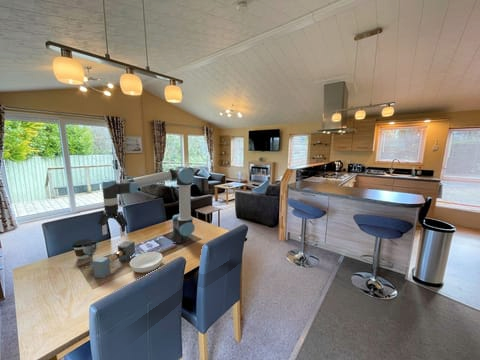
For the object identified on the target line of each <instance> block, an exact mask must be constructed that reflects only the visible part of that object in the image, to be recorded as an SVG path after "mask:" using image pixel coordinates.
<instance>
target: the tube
mask: <svg viewBox="0 0 480 360" xmlns="http://www.w3.org/2000/svg"><path fill="white" fill-rule="evenodd" d="M124 254H125V248H123V249H122V250H120V251H119V252H118V251H117V252H114V253H113V254H112V255H111V256H110V257H108V258H109V262H110V264H112V263H113V262H114V261H115V262H116V260H119V257H121V256H122V255H124Z"/></svg>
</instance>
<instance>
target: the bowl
mask: <svg viewBox="0 0 480 360" xmlns="http://www.w3.org/2000/svg"><path fill="white" fill-rule="evenodd" d="M162 262H163V255H162V253H160V252H158V251H147V252H142V253H140V254H138V255H135V256H134V257H133V258H131V259H130V260H129V267H130V268H131V270H132V271H133V272H136V273H138V274H146V273H150V272H152V271H154V270H156V269H157V268H158V267H160V265H161V264H162Z"/></svg>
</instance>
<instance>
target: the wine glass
mask: <svg viewBox="0 0 480 360" xmlns="http://www.w3.org/2000/svg"><path fill="white" fill-rule="evenodd" d="M82 247H83V251H84V253H85V254H86V255H88V256H89V257H90V262H88V263H87V264H88V265H87V264H86V265H87V266H88V267H90V268H93V260H94V259H93V257H94V255H95V254H96V252H98V251H97V250H98V241H96V240H95V241H94V240H91V242H87V243H85V244H83V245H82Z"/></svg>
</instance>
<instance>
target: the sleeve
mask: <svg viewBox="0 0 480 360" xmlns="http://www.w3.org/2000/svg"><path fill="white" fill-rule="evenodd" d="M135 246H136V245H135V241H130V240H126V241H124V242H122V243H121V244H119V245H117V252H119V251H120V250H122V249H123V248H125V254H124V255H122V256H121V257H119V258H118V261H121V262H123V261H124V262H128V261H131V259H130V256H132V255H133V254H134V253H135V254H136V247H135Z"/></svg>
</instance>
